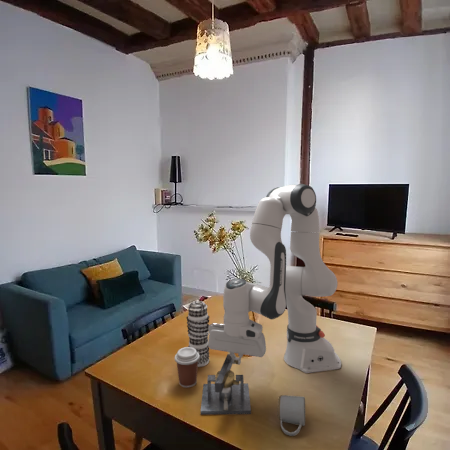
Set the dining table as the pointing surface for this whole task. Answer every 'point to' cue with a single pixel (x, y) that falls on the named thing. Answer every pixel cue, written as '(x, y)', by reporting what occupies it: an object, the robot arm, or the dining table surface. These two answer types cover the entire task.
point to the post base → (232, 403)
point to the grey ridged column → (199, 330)
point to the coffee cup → (187, 366)
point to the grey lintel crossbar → (225, 375)
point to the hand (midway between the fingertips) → (236, 363)
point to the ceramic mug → (291, 412)
